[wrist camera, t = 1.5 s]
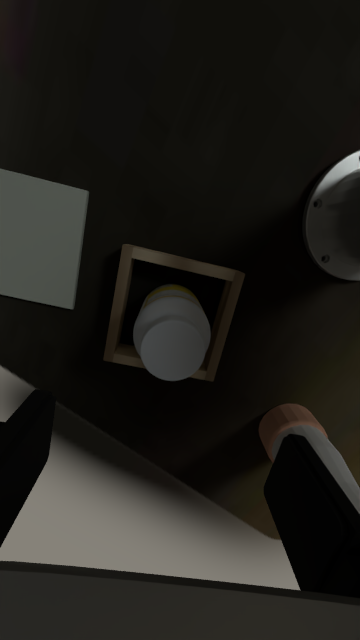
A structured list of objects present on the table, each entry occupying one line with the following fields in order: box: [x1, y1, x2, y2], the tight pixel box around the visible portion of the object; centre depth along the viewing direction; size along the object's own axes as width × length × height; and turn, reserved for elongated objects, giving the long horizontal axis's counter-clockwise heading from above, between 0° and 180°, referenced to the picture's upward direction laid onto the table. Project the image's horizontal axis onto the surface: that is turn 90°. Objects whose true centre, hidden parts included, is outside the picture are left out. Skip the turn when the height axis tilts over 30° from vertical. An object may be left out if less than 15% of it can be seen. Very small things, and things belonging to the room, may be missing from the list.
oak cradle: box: [103, 244, 245, 382], centre depth 29 cm, size 12×12×3 cm
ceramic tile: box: [0, 169, 89, 309], centre depth 27 cm, size 11×12×1 cm
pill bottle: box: [133, 284, 211, 381], centre depth 25 cm, size 6×6×12 cm
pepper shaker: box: [259, 403, 360, 514], centre depth 26 cm, size 7×7×19 cm
